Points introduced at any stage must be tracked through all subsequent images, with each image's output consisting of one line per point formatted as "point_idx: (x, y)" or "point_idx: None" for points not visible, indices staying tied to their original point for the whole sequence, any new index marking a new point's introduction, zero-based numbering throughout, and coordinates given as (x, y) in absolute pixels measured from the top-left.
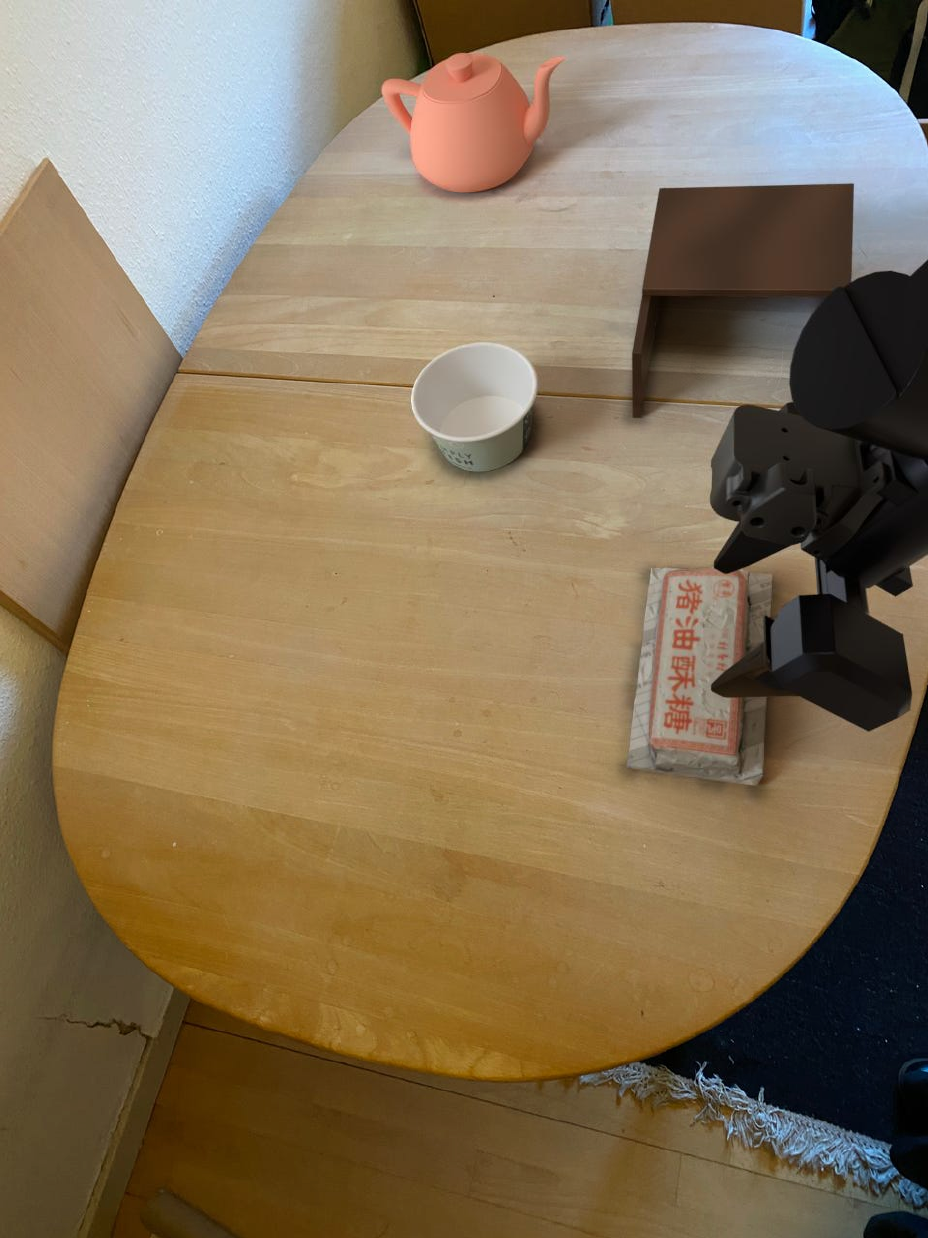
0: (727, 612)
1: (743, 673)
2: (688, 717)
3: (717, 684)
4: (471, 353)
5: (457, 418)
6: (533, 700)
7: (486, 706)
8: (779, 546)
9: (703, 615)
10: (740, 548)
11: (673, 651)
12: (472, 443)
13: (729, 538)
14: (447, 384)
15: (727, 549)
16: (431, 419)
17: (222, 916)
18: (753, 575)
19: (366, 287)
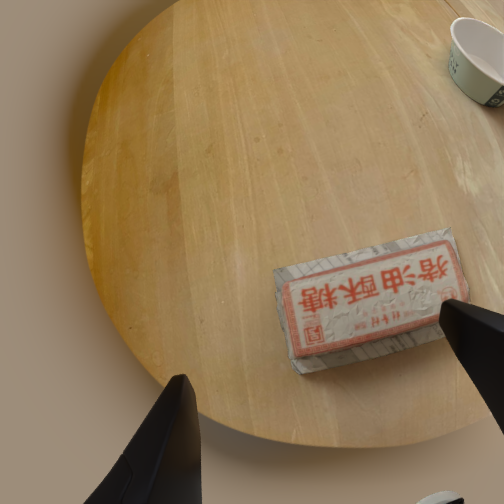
0: (428, 308)
1: (120, 456)
2: (317, 308)
3: (165, 390)
4: None
5: (475, 60)
6: (304, 178)
7: (285, 148)
8: (490, 399)
9: (419, 288)
10: (479, 340)
11: (377, 273)
12: (463, 58)
13: (492, 313)
14: (487, 44)
15: (473, 318)
16: (463, 41)
17: (120, 93)
18: None
19: (500, 10)
